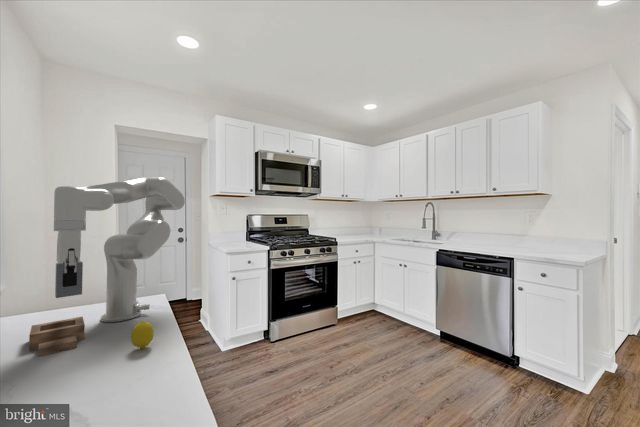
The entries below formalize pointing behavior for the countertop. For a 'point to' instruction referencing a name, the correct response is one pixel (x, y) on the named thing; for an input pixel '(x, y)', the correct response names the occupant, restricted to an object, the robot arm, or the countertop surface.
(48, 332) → the socket
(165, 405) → the countertop surface
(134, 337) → the lemon
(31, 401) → the countertop surface
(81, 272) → the bracket
